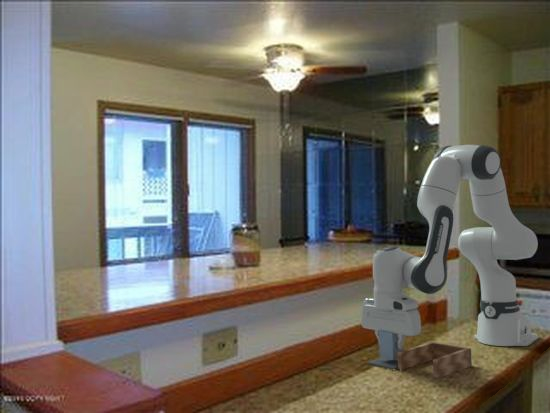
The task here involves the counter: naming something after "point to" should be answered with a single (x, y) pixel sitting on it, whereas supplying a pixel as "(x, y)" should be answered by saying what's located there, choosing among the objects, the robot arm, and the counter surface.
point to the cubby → (436, 358)
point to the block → (388, 345)
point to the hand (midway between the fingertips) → (390, 346)
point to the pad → (384, 363)
